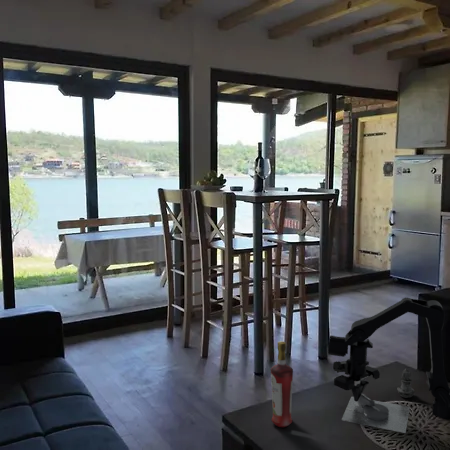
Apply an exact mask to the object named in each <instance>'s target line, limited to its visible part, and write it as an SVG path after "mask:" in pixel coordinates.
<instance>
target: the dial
mask: <svg viewBox="0 0 450 450" xmlns="http://www.w3.org/2000/svg"><path fill="white" fill-rule="evenodd" d="M373 400H374V399H372V398H370V397H369V396H368V395H366V394H365V393H362V394H361V396H360V398H359V399H358V402H359V403H360V404H362V405H363V406H364V415H365V416H366V417H367V418H369V419H371V420H375V421H383V420H386V419H388V417H389V410H388V408H387V407H385V406H383V405H381V404H376V403H375V401H376V400H374V401H373Z"/></svg>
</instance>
